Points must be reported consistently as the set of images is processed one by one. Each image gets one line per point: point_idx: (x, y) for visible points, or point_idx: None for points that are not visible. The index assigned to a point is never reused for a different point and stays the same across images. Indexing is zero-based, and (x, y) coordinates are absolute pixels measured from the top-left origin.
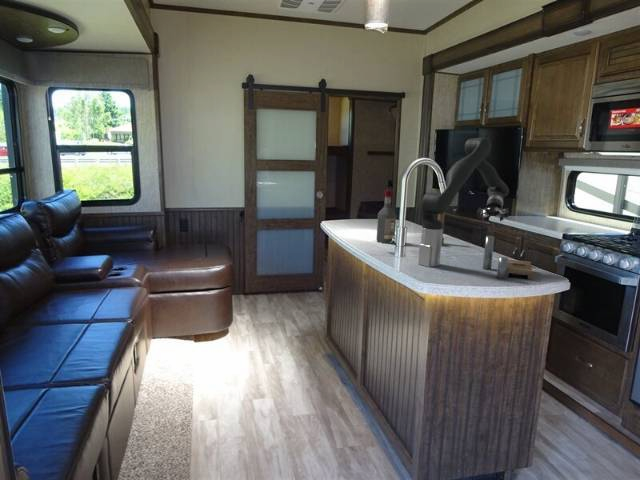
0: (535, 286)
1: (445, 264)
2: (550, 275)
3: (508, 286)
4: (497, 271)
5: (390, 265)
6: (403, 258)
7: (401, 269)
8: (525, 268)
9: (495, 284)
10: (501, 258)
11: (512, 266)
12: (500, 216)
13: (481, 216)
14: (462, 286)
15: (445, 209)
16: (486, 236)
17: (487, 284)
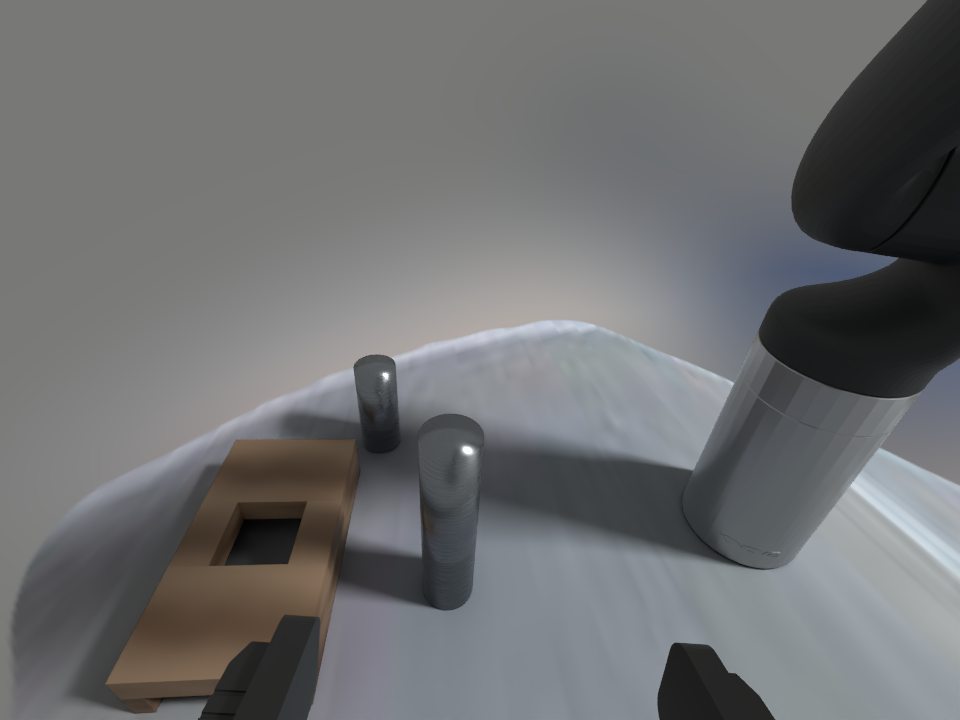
0: (267, 403)
1: (682, 567)
2: (42, 629)
3: None
4: (398, 416)
5: None
6: (946, 585)
7: None
8: (253, 465)
9: (408, 375)
10: (385, 356)
11: (316, 475)
12: (295, 641)
13: (710, 662)
14: (499, 334)
15: (799, 196)
16: (478, 427)
17: (434, 368)
